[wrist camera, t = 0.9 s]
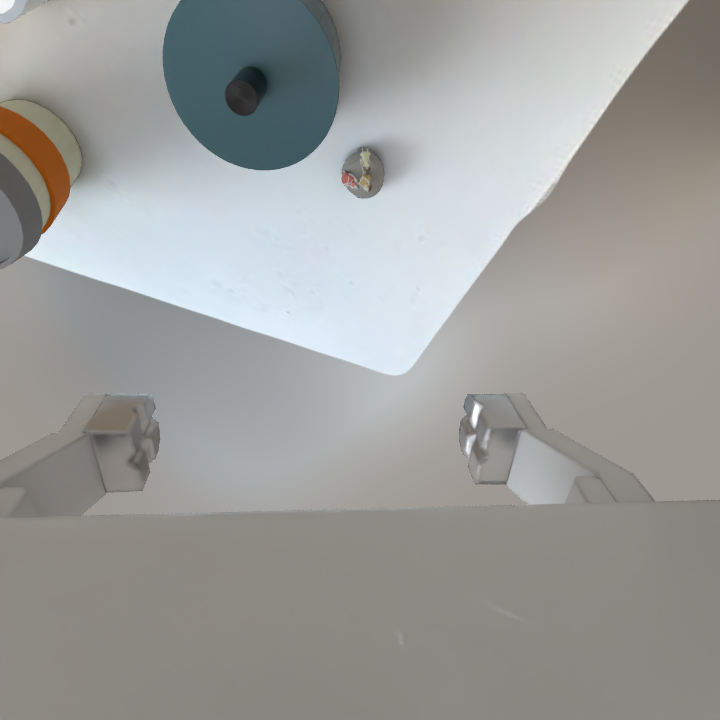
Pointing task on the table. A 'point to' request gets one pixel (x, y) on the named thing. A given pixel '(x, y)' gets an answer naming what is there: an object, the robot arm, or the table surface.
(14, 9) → the white cylinder
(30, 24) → the table surface
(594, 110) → the table surface
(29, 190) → the reusable coffee cup
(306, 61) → the pot lid
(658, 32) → the table surface
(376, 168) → the figurine
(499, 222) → the table surface
